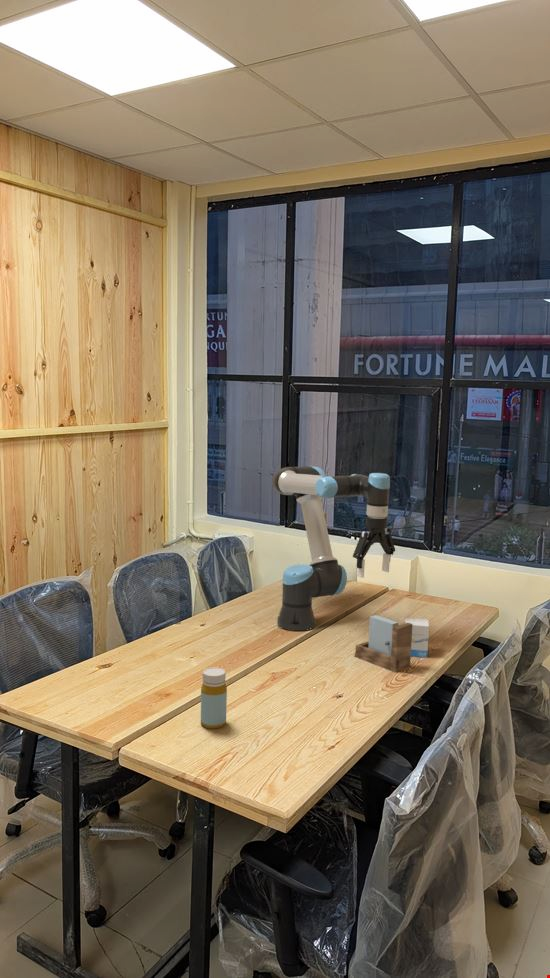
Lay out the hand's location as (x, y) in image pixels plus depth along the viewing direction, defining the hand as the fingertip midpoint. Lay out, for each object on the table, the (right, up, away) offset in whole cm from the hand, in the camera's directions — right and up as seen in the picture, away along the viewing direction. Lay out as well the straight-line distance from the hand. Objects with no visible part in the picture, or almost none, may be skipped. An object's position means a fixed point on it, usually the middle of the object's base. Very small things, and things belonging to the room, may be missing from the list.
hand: (373, 574), depth 257 cm
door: (+1, -28, -13) cm, 30 cm away
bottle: (-52, -34, -62) cm, 88 cm away
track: (+1, -29, -13) cm, 31 cm away
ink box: (+15, -28, -3) cm, 32 cm away
